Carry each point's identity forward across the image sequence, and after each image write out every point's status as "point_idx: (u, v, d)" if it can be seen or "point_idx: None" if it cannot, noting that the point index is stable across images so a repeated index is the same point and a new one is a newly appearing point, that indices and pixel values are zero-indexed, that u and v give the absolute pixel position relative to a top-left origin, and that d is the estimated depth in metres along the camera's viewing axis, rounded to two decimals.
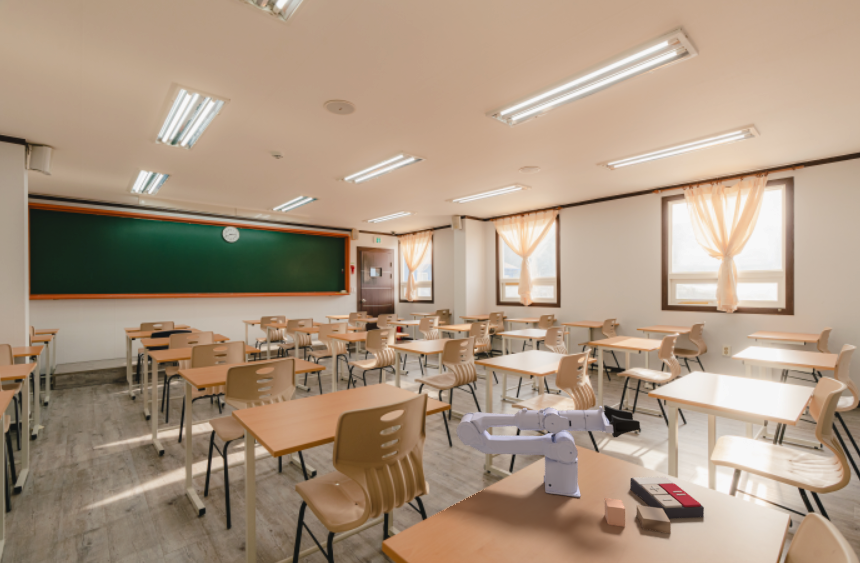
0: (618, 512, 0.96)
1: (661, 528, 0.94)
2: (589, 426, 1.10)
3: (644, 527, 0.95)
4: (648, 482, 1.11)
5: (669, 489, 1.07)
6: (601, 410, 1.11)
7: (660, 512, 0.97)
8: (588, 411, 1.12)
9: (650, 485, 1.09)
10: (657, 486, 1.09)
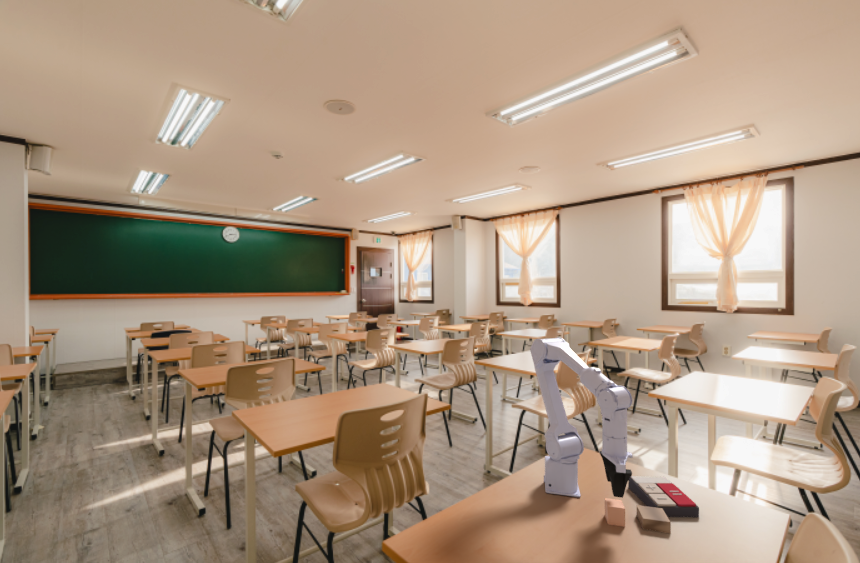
0: (618, 512, 0.96)
1: (661, 528, 0.94)
2: (613, 441, 0.96)
3: (644, 527, 0.95)
4: (646, 481, 1.12)
5: (666, 488, 1.08)
6: (629, 456, 0.97)
7: (660, 512, 0.97)
8: (626, 441, 0.98)
9: (647, 484, 1.10)
10: (654, 485, 1.09)
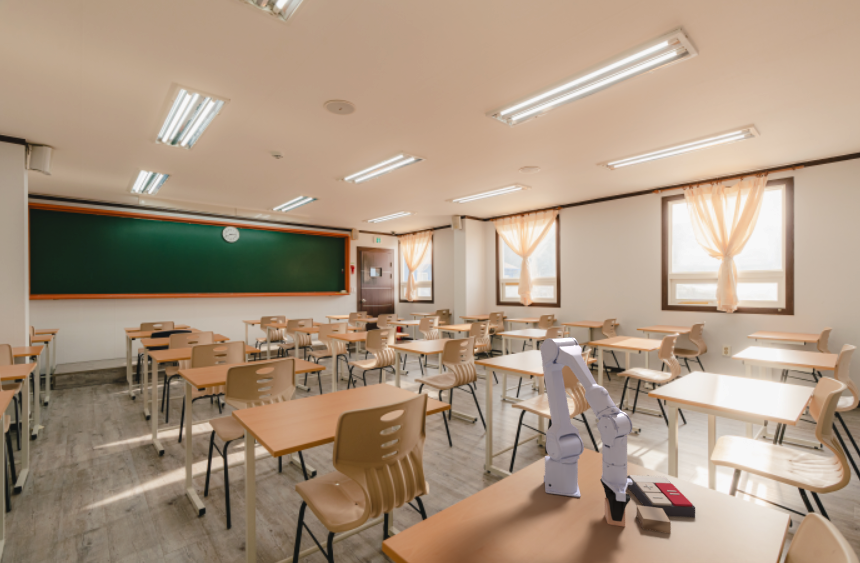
0: None
1: (661, 528, 0.94)
2: (613, 468, 0.96)
3: (644, 527, 0.95)
4: (644, 480, 1.12)
5: (664, 488, 1.08)
6: (629, 483, 0.97)
7: (660, 512, 0.97)
8: None
9: (645, 483, 1.10)
10: (652, 484, 1.10)
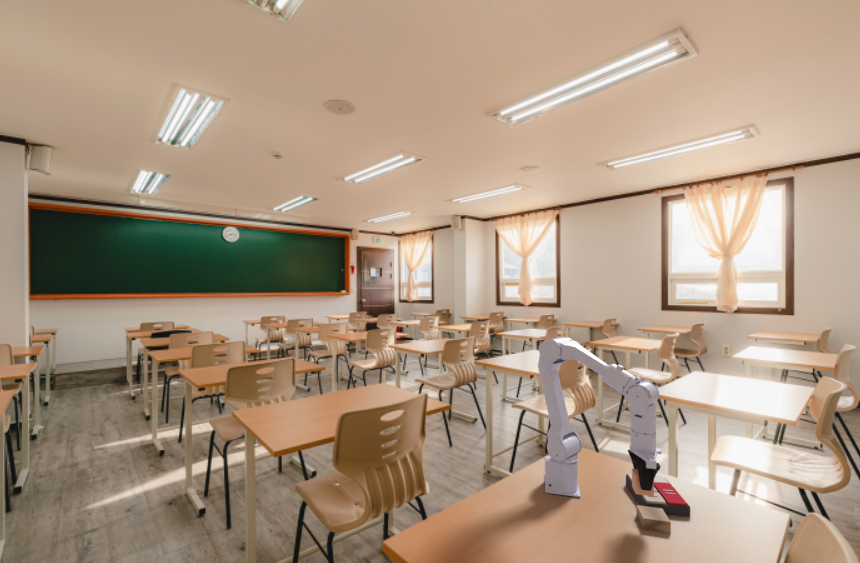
0: None
1: (661, 528, 0.94)
2: (642, 437, 0.95)
3: (644, 527, 0.95)
4: None
5: (661, 487, 1.08)
6: (658, 452, 0.96)
7: (660, 512, 0.97)
8: (655, 437, 0.97)
9: None
10: None
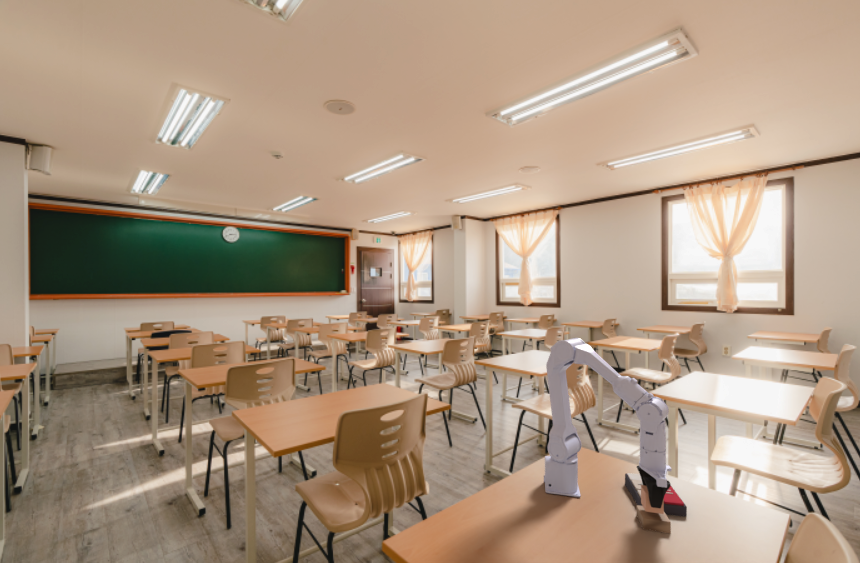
0: None
1: (661, 528, 0.94)
2: (652, 455, 0.95)
3: (644, 527, 0.95)
4: (640, 479, 1.13)
5: None
6: (668, 469, 0.96)
7: None
8: (665, 454, 0.96)
9: (640, 481, 1.11)
10: None
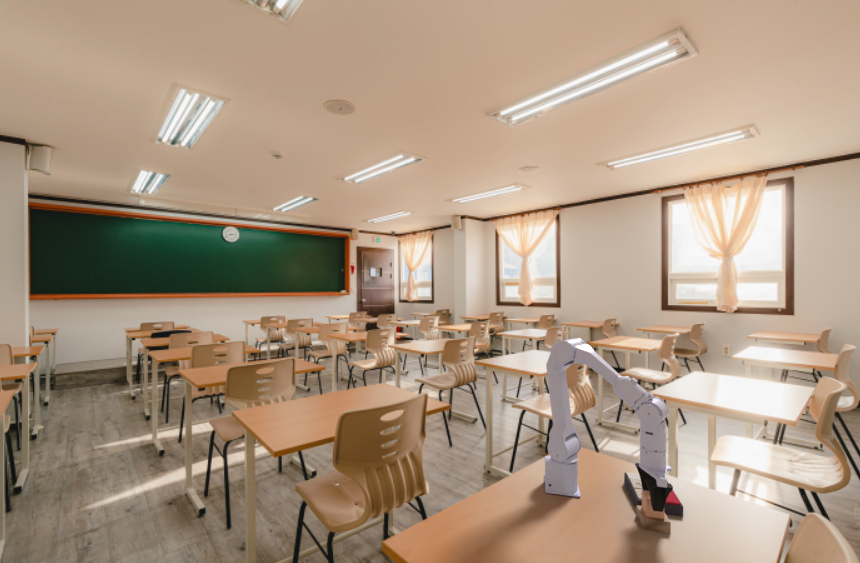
0: None
1: (661, 528, 0.94)
2: (652, 455, 0.95)
3: (644, 527, 0.95)
4: (639, 478, 1.14)
5: None
6: (668, 469, 0.96)
7: None
8: (665, 454, 0.96)
9: (638, 480, 1.12)
10: None
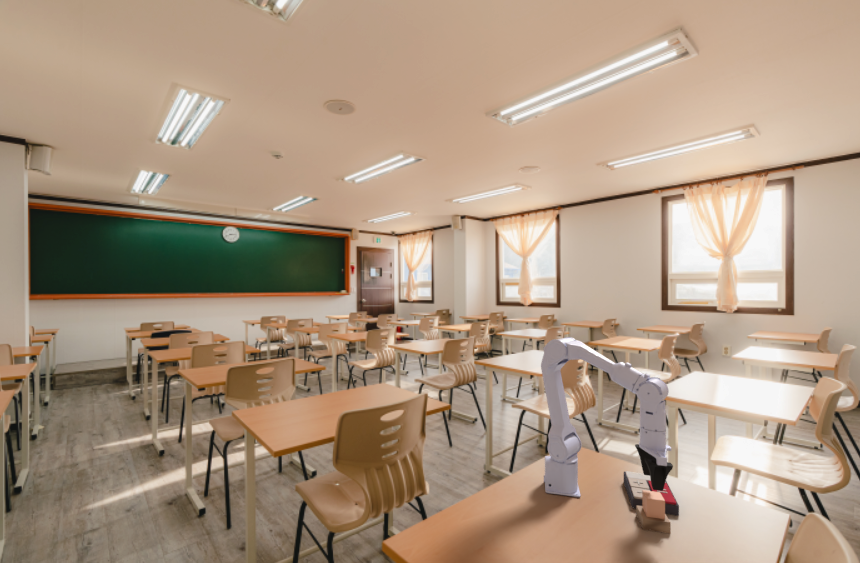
0: (658, 504, 0.95)
1: (661, 528, 0.94)
2: (652, 434, 0.95)
3: (644, 527, 0.95)
4: (638, 477, 1.14)
5: None
6: (668, 449, 0.96)
7: None
8: (665, 434, 0.96)
9: (637, 479, 1.12)
10: (643, 481, 1.11)
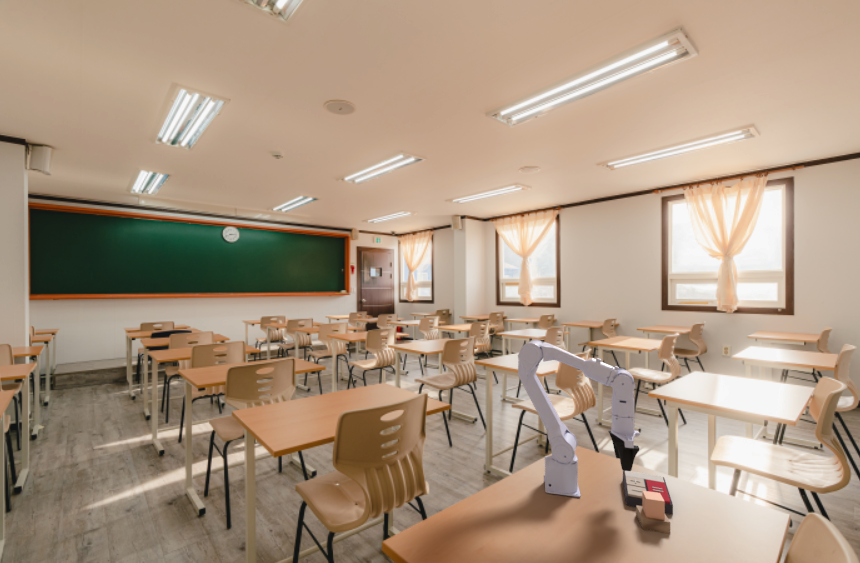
0: (657, 505, 0.95)
1: (661, 528, 0.94)
2: (621, 420, 1.05)
3: (644, 527, 0.95)
4: (636, 476, 1.15)
5: (652, 484, 1.10)
6: (636, 433, 1.06)
7: None
8: (634, 420, 1.06)
9: (634, 478, 1.13)
10: (641, 480, 1.12)
